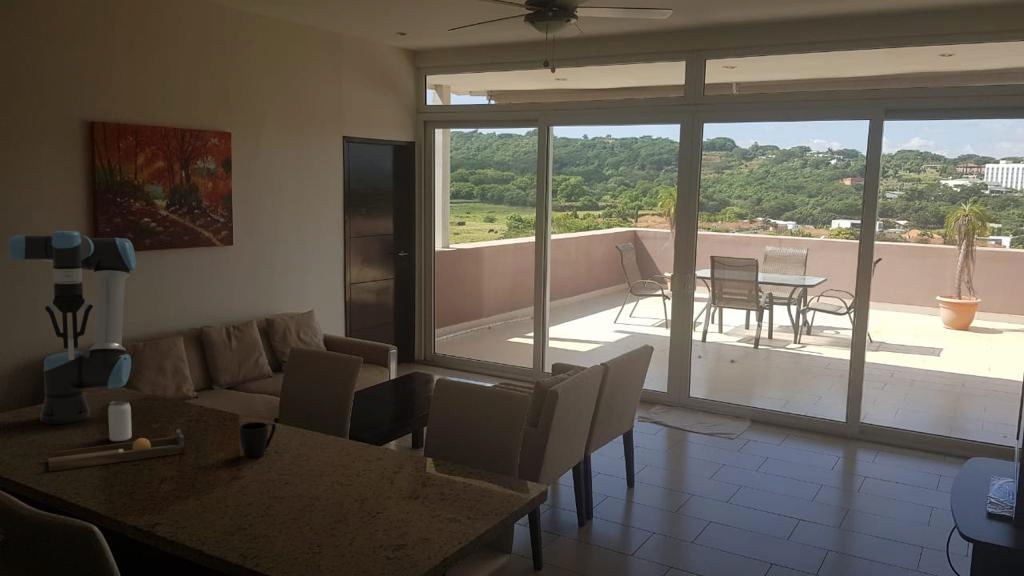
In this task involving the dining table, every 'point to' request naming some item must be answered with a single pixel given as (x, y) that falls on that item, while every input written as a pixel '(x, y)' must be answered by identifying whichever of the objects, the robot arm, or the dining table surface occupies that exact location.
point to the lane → (114, 453)
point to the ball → (141, 444)
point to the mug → (255, 438)
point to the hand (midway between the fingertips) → (71, 358)
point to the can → (119, 421)
